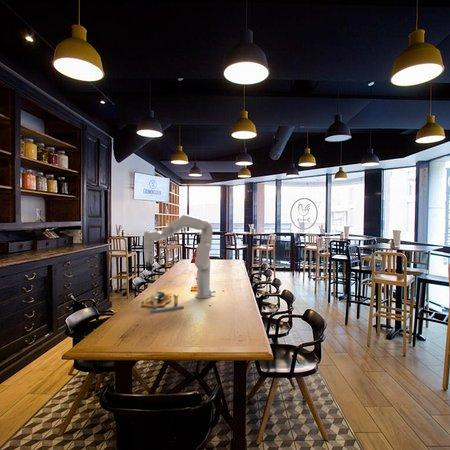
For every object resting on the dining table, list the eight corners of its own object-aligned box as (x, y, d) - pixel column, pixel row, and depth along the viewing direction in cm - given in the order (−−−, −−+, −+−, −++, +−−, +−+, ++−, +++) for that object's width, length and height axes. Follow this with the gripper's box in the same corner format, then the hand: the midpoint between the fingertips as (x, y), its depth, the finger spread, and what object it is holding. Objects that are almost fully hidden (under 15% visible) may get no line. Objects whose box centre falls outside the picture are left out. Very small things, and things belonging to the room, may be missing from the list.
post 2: (177, 306, 211) (177, 294, 211) (179, 308, 208) (179, 295, 208) (172, 307, 210) (172, 294, 209) (174, 308, 206) (174, 296, 206)
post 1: (157, 309, 205) (157, 296, 204) (158, 311, 201) (158, 297, 201) (151, 310, 203) (151, 297, 203) (153, 311, 200) (153, 298, 199)
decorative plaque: (148, 287, 238) (174, 287, 238) (148, 296, 238) (174, 297, 238) (136, 297, 208) (166, 298, 207) (137, 308, 208) (166, 308, 208)
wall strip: (182, 307, 210) (182, 305, 210) (183, 308, 207) (183, 306, 207) (149, 312, 199) (149, 309, 199) (150, 313, 197) (150, 311, 197)
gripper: (156, 247, 237) (156, 271, 237) (150, 246, 251) (150, 268, 252) (146, 248, 233) (146, 272, 234) (141, 246, 248) (141, 269, 248)
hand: (148, 270), depth 243 cm, fingers open, 3 cm apart
